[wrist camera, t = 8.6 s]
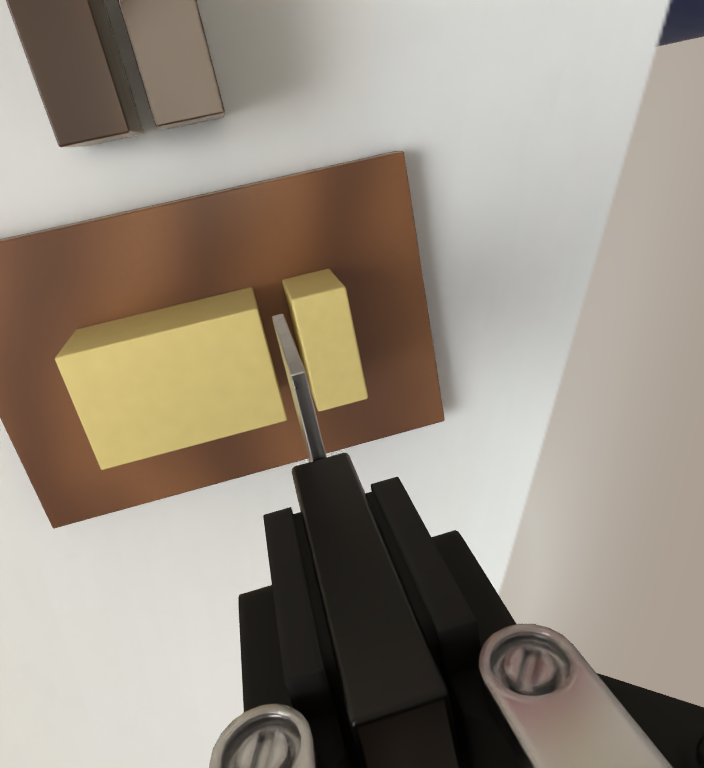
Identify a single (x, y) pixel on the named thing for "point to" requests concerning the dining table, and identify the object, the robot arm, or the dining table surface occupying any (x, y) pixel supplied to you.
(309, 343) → the butter slice
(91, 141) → the knife block
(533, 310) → the dining table surface
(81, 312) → the board
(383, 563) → the knife
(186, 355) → the butter
